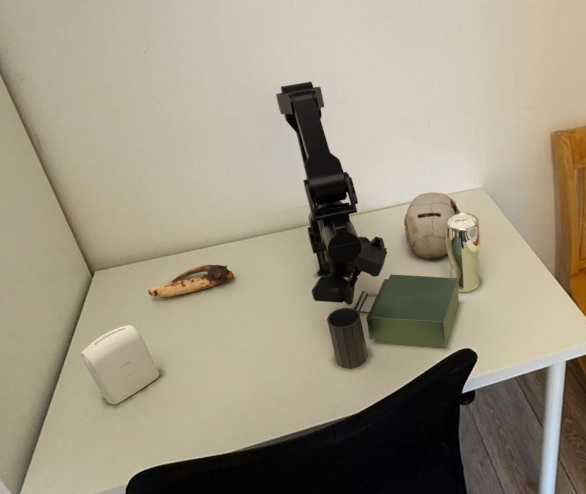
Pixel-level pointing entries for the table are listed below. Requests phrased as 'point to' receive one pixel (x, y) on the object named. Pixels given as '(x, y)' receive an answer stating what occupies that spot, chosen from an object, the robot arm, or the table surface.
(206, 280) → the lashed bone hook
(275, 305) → the table surface
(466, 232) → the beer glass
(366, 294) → the drawer
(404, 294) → the green box
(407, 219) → the coin bank
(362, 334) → the black cup
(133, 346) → the photo printer
